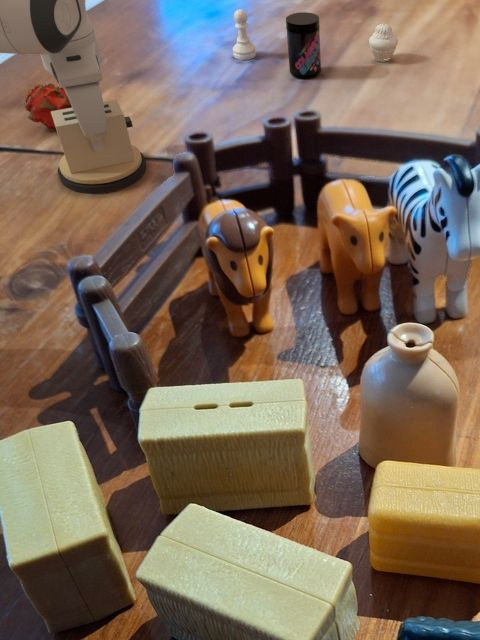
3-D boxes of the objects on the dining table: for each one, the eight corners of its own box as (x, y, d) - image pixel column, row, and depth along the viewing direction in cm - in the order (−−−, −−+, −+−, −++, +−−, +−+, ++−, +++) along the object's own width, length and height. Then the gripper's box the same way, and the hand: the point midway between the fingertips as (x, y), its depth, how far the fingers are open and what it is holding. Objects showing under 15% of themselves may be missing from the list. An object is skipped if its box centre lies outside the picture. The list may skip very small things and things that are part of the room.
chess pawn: (239, 49, 161) (234, 4, 154) (260, 52, 160) (255, 7, 153) (229, 58, 158) (223, 12, 151) (250, 61, 157) (245, 15, 150)
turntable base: (66, 201, 121) (64, 194, 121) (54, 160, 130) (51, 153, 129) (155, 182, 125) (153, 176, 124) (136, 144, 134) (135, 137, 133)
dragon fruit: (31, 134, 140) (95, 141, 142) (16, 124, 132) (84, 132, 133) (30, 86, 138) (95, 94, 140) (15, 73, 130) (84, 82, 131)
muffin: (395, 65, 155) (397, 29, 150) (367, 64, 156) (367, 28, 150) (397, 53, 159) (399, 18, 154) (370, 52, 160) (370, 17, 154)
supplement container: (288, 80, 151) (284, 24, 143) (290, 66, 155) (286, 12, 147) (321, 79, 151) (319, 24, 143) (321, 66, 155) (319, 11, 147)
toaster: (66, 191, 121) (49, 138, 114) (54, 153, 129) (37, 102, 122) (149, 174, 124) (137, 122, 117) (132, 138, 132) (120, 87, 126)
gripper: (40, 32, 118) (66, 117, 129) (58, 81, 106) (86, 171, 117) (79, 26, 120) (102, 111, 130) (101, 73, 107) (125, 163, 118)
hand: (94, 139), depth 123 cm, fingers open, 6 cm apart
